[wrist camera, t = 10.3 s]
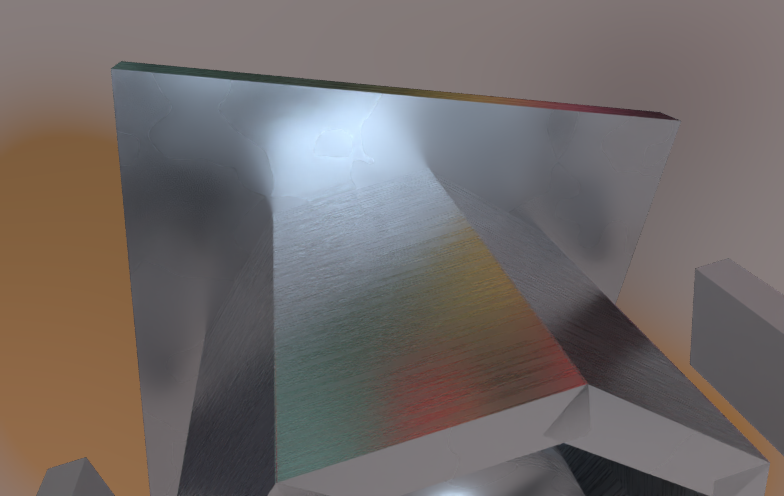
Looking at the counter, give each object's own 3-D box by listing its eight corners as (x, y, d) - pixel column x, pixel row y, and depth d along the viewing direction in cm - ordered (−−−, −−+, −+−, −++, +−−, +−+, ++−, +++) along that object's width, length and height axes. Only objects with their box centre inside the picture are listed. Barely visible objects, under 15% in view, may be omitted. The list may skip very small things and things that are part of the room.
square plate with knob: (157, 493, 16) (91, 807, 10) (121, 61, 11) (-61, 192, 5) (539, 467, 19) (662, 704, 13) (660, 112, 13) (964, 236, 8)
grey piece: (159, 245, 12) (41, 557, 6) (535, 137, 12) (795, 317, 6) (310, 545, 17) (332, 870, 11) (568, 461, 18) (724, 728, 12)
